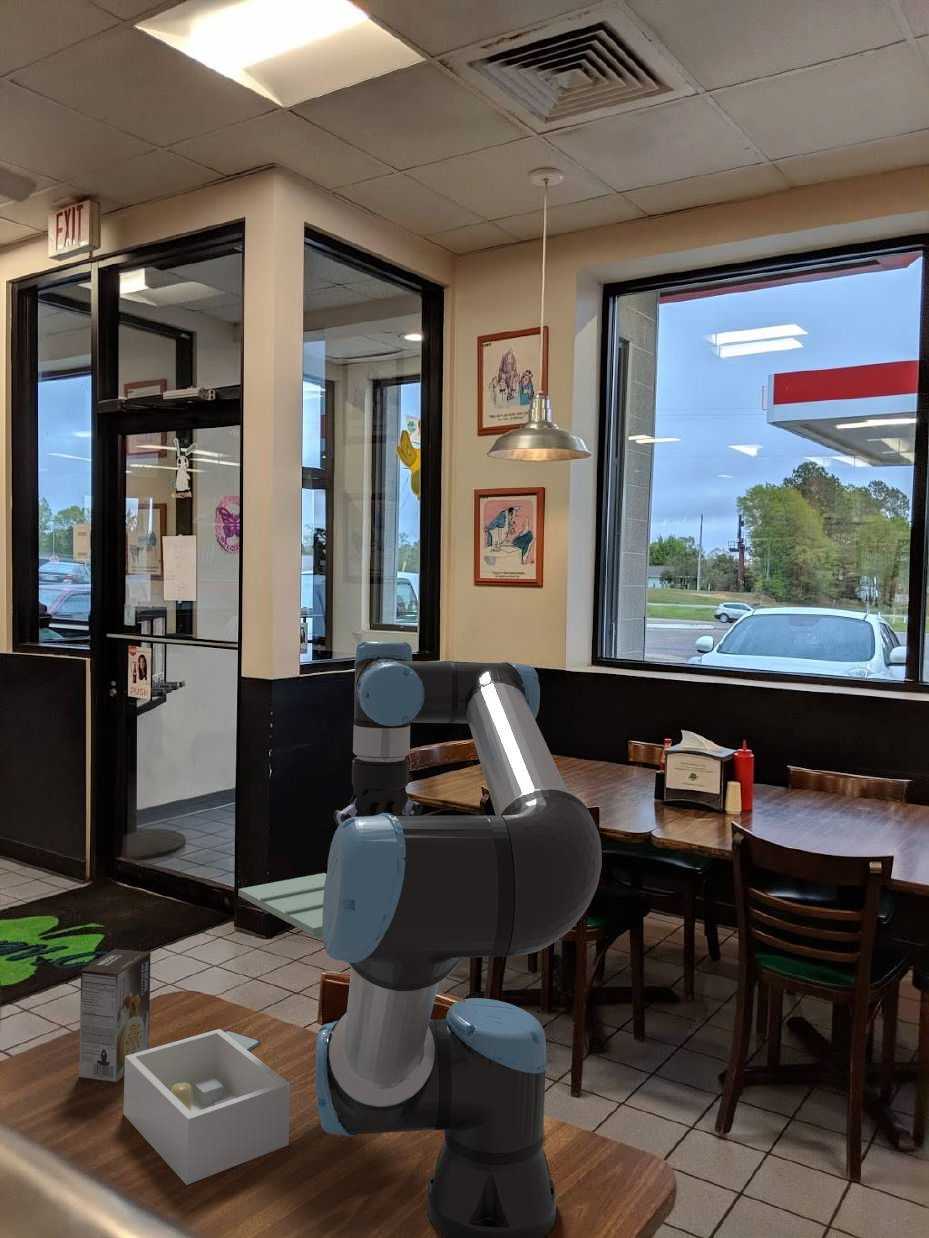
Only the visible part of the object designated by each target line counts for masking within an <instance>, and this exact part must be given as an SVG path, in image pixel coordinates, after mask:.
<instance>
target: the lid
mask: <svg viewBox="0 0 929 1238" xmlns="http://www.w3.org/2000/svg"><path fill="white" fill-rule="evenodd" d="M326 875H327V873H325V872H322V873H316V874H312V875H311V874H310V875H306V876H302V877H301V876H300V877H295V878H290V879H284V880H279V881H274V882H269V883H263V884H259V885H253V886H248V887H242V888H238V897H241V899H244V900H245V901H247V902H250V903H251V904H253V905H255V906H257V907H258V908H260V909H263V910H264V911H266V912H268V913H270V914H271V915H273V916H275V917H277V918H279V919H280V920H283V921H285V922H286V923H288V924H291V926H293V927H296V928H298V929H299V930H301V931H303V932H305V933H307V934H309V935H311V936H312V937H314V938H316V937H317V938H323V924H322V921H323V898H324V887H325V880H326Z"/></svg>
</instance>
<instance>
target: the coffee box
mask: <svg viewBox="0 0 929 1238" xmlns="http://www.w3.org/2000/svg"><path fill="white" fill-rule="evenodd" d="M151 954H152V952H150V951H139V950H138V951H137V950H130V949H120V948H119V949H118V948H114V949H112V950H110V951H109V952H108V953H106V954H105V955H103V956H101V957H100V958H97V959H96V960H95V961H93V962H91V963H89V965H87V966H85V967H83V968H82V969H81V970H80V1005H79V1006H80V1007H79V1008H80V1009H79V1010H80V1011H79V1016H80V1017H79V1058H78V1059H79V1061H78V1062H79V1064H78V1065H79V1067H78V1070H79V1071H78V1072H79V1073H78V1076H79V1077H80V1078H84V1079H89V1080H90V1079H91V1080H99V1081H106V1082H112V1083H113V1082H114V1083H117V1082H119V1080H121V1079H122V1078H123V1077H124V1076H125V1056H127V1055H131V1054H134V1053H137V1052H141V1051H144V1050H148V1049H150V1010H151V1009H150V1005H151V1003H150V1001H151Z"/></svg>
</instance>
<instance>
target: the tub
mask: <svg viewBox="0 0 929 1238" xmlns="http://www.w3.org/2000/svg"><path fill="white" fill-rule="evenodd" d="M225 1032H226V1031H224V1030H222V1029H221V1028H218V1029H215V1030H210V1031H208V1032H203V1033H200V1034H196V1035H193V1036H189V1037H187V1038H182V1039H180V1040H177V1041H172V1042H169V1043H166V1044H163V1045H159V1046H155V1047H152V1048H149V1049H148V1050H144V1051H141V1052H137V1053H134V1054H131V1055H127V1056H125V1075H124V1076H123V1077H124V1078H123V1079H124V1080H123V1081H124V1084H123V1115H124V1117H125V1118H126V1119H127V1121H129V1122H130V1124H131V1125H132V1126H133V1127H134V1128H135V1130H137V1131H138V1132H139V1133H140V1135H142V1136H143V1138H144V1139H145V1140H146V1141H147V1142H148V1144H149V1145H150V1146H151V1147H152V1148H153V1149H154V1151H156V1153H157V1154H158V1155H159V1156H160V1157H161V1158H162V1160H164V1162H165V1163H166V1164H167V1165H168V1166H169V1167H170V1169H172V1171H174V1173H175V1174H176V1175H177V1176H178V1177H179V1178H180V1180H181V1181H182V1182H183V1183H184V1184H185V1185H186V1186H188V1185H191V1184H193V1183H195V1182H197V1181H201V1180H203V1179H205V1178H208V1177H211V1176H214V1175H216V1174H218V1173H221V1172H223V1171H227V1170H229V1169H231V1168H234V1167H236V1166H239V1165H241V1164H244V1163H246V1162H249V1161H251V1160H254V1159H257V1158H259V1157H261V1156H264V1155H267V1154H269V1153H272V1152H274V1151H277V1150H280V1149H281V1148H284V1147H288V1146H289V1143H290V1139H289V1137H290V1113H291V1112H290V1111H291V1110H290V1109H291V1108H290V1107H291V1083H290V1082H288V1081H287V1080H286V1079H285V1078H283V1077H282V1075H280V1074H279V1073H277V1072H276V1071H275V1070H273V1069H272V1068H271V1067H270V1066H268V1065H267V1064H266V1063H264V1062H263V1061H262V1060H261V1059H259V1057H256V1056H255V1055H254V1054H253V1053H252V1052H251V1051H248V1050H247V1049H245V1048H244V1047H243V1046H241V1045H240V1044H239V1043H238V1042H236V1041H235V1040H234V1039H233V1038H231V1037H230V1036H229V1035H227V1034H226V1033H225Z"/></svg>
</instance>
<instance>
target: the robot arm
mask: <svg viewBox="0 0 929 1238" xmlns="http://www.w3.org/2000/svg"><path fill="white" fill-rule="evenodd" d="M412 649H413V648H412V646H411V644H409V643H408V642H406V641H400V640H399V641H398V640H397V641H396V640H364V641H361V642H359V643H358V644H357V646H356V652H355V661H354V664H353V665H354V703H353V704H354V712H353V714H354V718H353V739H352V740H353V741H352V743H353V744H352V746H353V747H352V752H353V754H354V755H356V757H354V758H353V760H352V762H351V763H352V764H351V765H352V767H351V784H352V787H353V793H352V795H351V798H350V801H349V804H350V805H348V806H347V807H345V808H343V809H342V810H338V809H337V810H335V811H334V812H333V816H332V817H333V819H334V822H335V824H336V827H337V829H336V830H335V831H334V835H333V837H332V841H331V843H330V847H329V853H328V858H327V871H326V874H327V875H326V880H325V887H324V898H323V921H322V924H323V937H322V941H323V946H324V949H325V952H326V954H327V955H328V957H330V959H333V960H336V961H343V962H345V963H347V964H348V965H349V967H350V977H349V987H348V995H347V996H348V997H347V1007H346V1008H347V1009H346V1012H345V1013H344V1015H342V1016H341V1018H340V1019H339V1020H335V1021H332V1022H330V1023H325V1024H323V1025H322V1026H321V1027H320V1028H319V1030H318V1033H317V1037H316V1044H315V1045H316V1046H315V1093H316V1101H317V1103H316V1107H317V1109H316V1110H317V1115H318V1120H319V1123H320V1126H321V1127H322V1130H323V1131H324V1132H325V1133H326V1134H329V1135H337V1136H347V1137H351V1138H352V1137H356V1136H358V1135H367V1134H369V1135H370V1134H382V1133H383V1134H384V1133H388V1134H389V1133H399V1132H401V1133H402V1132H420V1131H421V1132H422V1131H444V1135H443V1136H444V1137H443V1143H442V1145H441V1148H440V1150H439V1153H438V1157H437V1160H436V1165H435V1168H434V1171H433V1172H432V1174H431V1176H430V1179H429V1181H428V1186H427V1196H426V1197H427V1199H426V1200H427V1201H426V1202H427V1203H426V1210H427V1211H426V1212H427V1215H428V1217H429V1220H430V1223H431V1224H432V1225H433V1227H435V1229H436V1230H437V1231H438V1232H439V1233H440V1234H441V1235H443V1236H444V1237H446V1238H544V1237H545V1236H547V1234H548V1233H549V1232H550V1231H551V1230H552V1228H553V1226H554V1225H555V1223H556V1216H557V1192H556V1188H555V1184H554V1182H553V1180H552V1174H551V1170H550V1167H549V1166H550V1165H549V1163H548V1158H547V1156H546V1151H545V1150H544V1149H545V1148H544V1126H545V1099H546V1097H545V1096H546V1072H547V1071H546V1070H547V1069H548V1059H547V1045H546V1044H547V1043H546V1033H545V1029H544V1028H543V1026H542V1024H541V1023H540V1021H538V1019H537V1018H536V1017H534V1015H532V1014H531V1013H530V1012H528V1011H526V1010H525V1009H523V1008H521V1007H518V1006H516V1005H514V1004H511V1003H508V1002H505V1001H501V1000H497V999H491V998H490V999H489V998H481V997H480V998H478V997H473V998H465V999H463V1000H461V1001H460V1000H459V1001H456V1002H454V1003H453V1004H452V1005H451V1006H450V1007H449V1008H448V1011H447V1012H446V1017H445V1018H444V1019H440V1018H439V1019H431V1017H432V1013H433V1009H434V1004H435V1001H436V996H437V993H438V989H439V984H440V983H441V982H442V981H443V980H445V979H446V978H447V977H448V976H449V975H451V974H452V973H453V972H454V970H455V968H456V967H457V965H458V964H459V963H460V961H461V959H462V958H489V957H503V958H504V957H518V956H524V955H528V954H533V953H537V952H539V951H540V950H544V949H545V948H547V947H549V946H551V945H552V944H554V943H555V942H557V941H558V940H560V939H561V938H563V937H564V936H565V935H566V934H567V933H569V932H570V931H571V930H572V929H573V928H574V926H575V925H576V924H577V923H578V921H580V919H581V918H582V917H583V915H584V914H585V912H586V911H587V909H588V908H589V906H590V905H591V902H592V900H593V898H594V895H595V893H596V891H597V889H598V888H597V887H598V885H599V881H600V876H601V871H602V866H603V865H602V864H603V862H602V861H603V859H602V858H603V857H602V856H603V853H602V842H601V838H600V837H601V836H600V834H599V830H598V829H597V825H596V822H595V820H594V819H593V816H592V814H591V813H590V810H589V809H588V807H587V805H586V804H585V803H584V802H583V801H582V800H581V799H580V798H579V797H578V796H576V795H575V794H574V793H572V792H570V791H569V790H568V788H567V786H566V784H565V782H564V780H563V777H562V775H561V773H560V770H559V769H558V766H557V765H556V763H555V760H554V757H553V756H552V754H551V752H550V750H549V747H548V745H547V742H546V740H545V738H544V736H543V734H542V732H541V730H540V728H539V726H538V724H537V721H536V718H537V716H538V713H539V710H540V701H541V689H540V687H541V686H540V683H539V675H538V673H537V671H536V669H535V668H534V667H533V666H531V665H529V664H521V663H513V662H509V661H507V662H506V661H502V662H462V661H461V662H458V661H455V662H454V661H450V662H449V661H424V660H423V661H422V660H421V661H419V660H415V661H414V660H413V651H412ZM411 723H414V724H415V723H416V724H417V723H423V724H424V723H425V724H426V723H428V724H429V723H430V724H431V723H432V724H468V725H469V728H470V732H471V736H472V739H473V742H474V746H475V750H476V752H477V755H478V759H479V763H480V766H481V770H482V773H483V775H484V779H485V783H486V786H487V790H488V792H489V793H488V794H489V797H490V800H491V803H492V807H493V810H494V814H495V815H485V814H484V815H422V811H423V809H424V805H423V804H422V803H421V802H417V801H414V800H411V799H409V796H408V793H407V792H408V791H407V789H406V788H407V786H408V785H409V776H410V775H409V774H410V771H409V770H410V761H409V760H408V758H407V756H409V755H410V751H411V750H410V749H411Z"/></svg>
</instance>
